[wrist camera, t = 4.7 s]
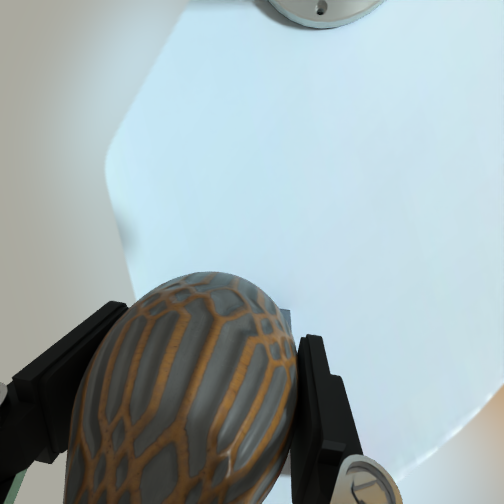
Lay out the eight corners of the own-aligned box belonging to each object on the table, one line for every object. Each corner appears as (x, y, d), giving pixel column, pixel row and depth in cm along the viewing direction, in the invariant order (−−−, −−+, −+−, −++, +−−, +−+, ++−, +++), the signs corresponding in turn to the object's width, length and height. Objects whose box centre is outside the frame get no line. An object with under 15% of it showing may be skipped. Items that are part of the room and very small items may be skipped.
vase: (303, 367, 13) (341, 741, 4) (179, 375, 14) (27, 681, 6) (283, 240, 11) (285, 499, 2) (139, 261, 12) (-196, 483, 4)
